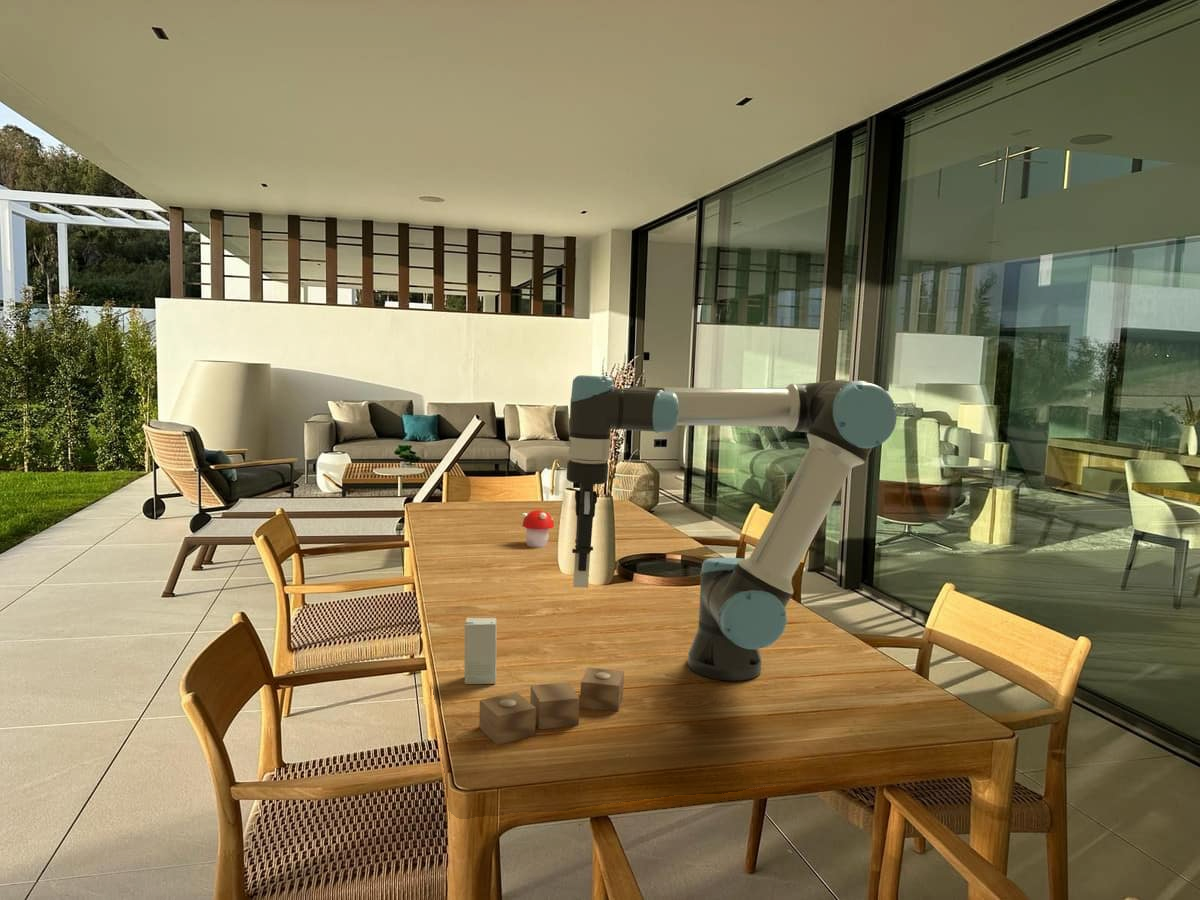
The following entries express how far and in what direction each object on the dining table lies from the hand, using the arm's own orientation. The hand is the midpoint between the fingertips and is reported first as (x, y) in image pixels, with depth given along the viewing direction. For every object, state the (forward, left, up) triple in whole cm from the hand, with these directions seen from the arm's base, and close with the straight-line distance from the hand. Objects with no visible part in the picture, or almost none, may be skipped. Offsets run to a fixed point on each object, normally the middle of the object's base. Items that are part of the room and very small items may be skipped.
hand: (580, 586), depth 148 cm
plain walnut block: (+4, +10, -21) cm, 24 cm away
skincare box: (+18, -6, -21) cm, 29 cm away
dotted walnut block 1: (+12, +15, -21) cm, 29 cm away
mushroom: (+7, -120, -21) cm, 122 cm away
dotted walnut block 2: (-5, +3, -21) cm, 22 cm away
